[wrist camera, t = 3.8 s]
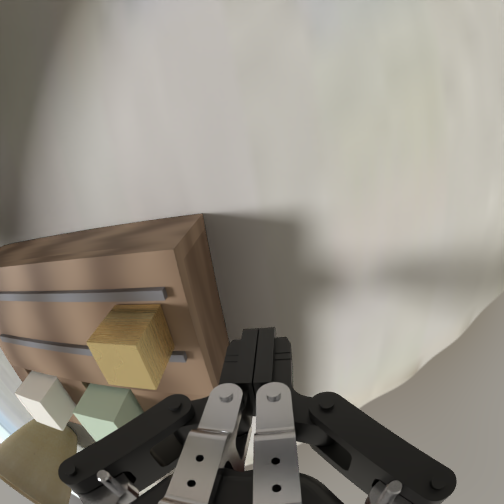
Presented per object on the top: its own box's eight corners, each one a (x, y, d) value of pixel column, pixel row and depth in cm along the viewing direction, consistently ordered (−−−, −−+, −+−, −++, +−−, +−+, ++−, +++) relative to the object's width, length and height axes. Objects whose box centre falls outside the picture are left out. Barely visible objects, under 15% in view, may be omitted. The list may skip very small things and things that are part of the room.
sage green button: (136, 375, 21) (113, 422, 17) (153, 405, 23) (135, 450, 18) (97, 370, 22) (72, 412, 17) (115, 400, 23) (95, 441, 19)
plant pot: (36, 387, 32) (-14, 463, 18) (110, 447, 36) (78, 525, 22) (18, 405, 37) (-20, 463, 23) (77, 454, 41) (49, 514, 26)
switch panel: (202, 213, 20) (170, 252, 14) (242, 397, 27) (234, 452, 21) (3, 245, 23) (-39, 273, 17) (67, 380, 30) (44, 416, 24)
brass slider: (160, 304, 16) (135, 345, 12) (175, 346, 17) (156, 389, 14) (115, 304, 16) (86, 342, 13) (131, 345, 17) (108, 384, 14)
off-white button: (65, 365, 22) (40, 402, 18) (84, 394, 24) (63, 431, 19) (39, 360, 23) (14, 393, 18) (57, 388, 24) (36, 421, 20)
